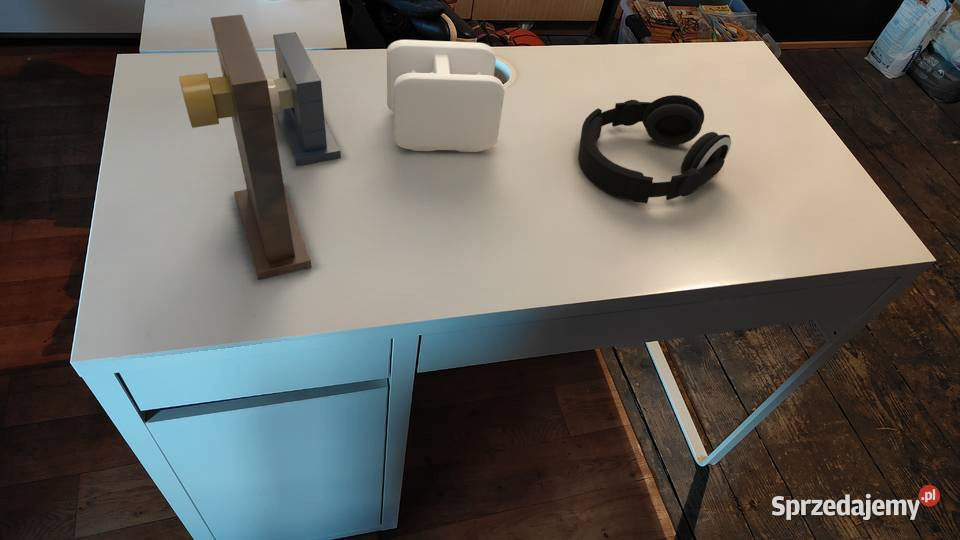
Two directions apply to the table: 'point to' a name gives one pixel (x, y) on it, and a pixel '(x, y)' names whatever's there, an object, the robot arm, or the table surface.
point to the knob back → (280, 94)
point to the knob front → (206, 99)
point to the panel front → (258, 156)
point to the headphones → (664, 124)
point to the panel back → (303, 105)
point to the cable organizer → (443, 95)
